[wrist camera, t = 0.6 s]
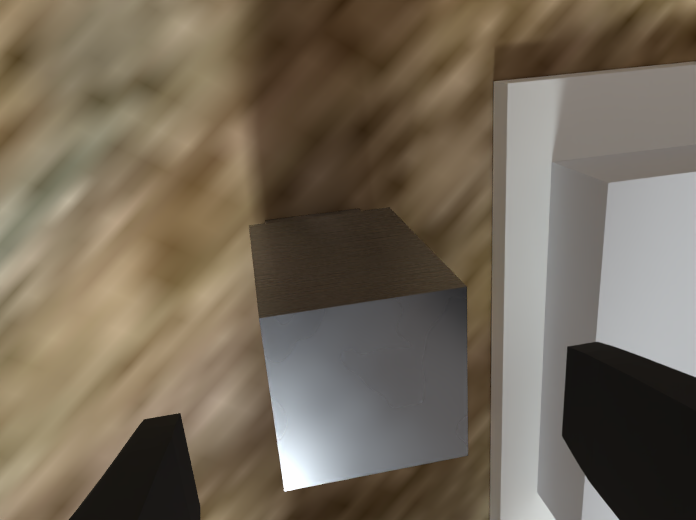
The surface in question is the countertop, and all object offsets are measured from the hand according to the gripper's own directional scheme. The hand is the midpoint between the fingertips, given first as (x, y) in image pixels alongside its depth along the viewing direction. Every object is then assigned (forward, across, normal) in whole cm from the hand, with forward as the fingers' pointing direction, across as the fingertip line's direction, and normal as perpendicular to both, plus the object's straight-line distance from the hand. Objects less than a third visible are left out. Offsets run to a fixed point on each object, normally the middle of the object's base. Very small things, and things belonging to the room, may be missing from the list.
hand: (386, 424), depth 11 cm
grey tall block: (+9, 0, 0) cm, 9 cm away
